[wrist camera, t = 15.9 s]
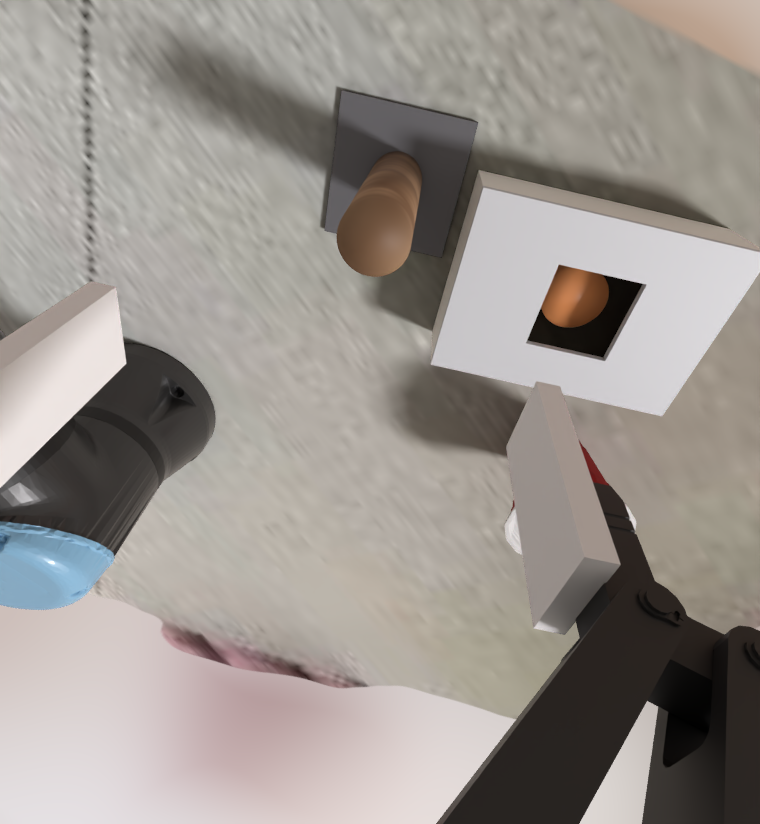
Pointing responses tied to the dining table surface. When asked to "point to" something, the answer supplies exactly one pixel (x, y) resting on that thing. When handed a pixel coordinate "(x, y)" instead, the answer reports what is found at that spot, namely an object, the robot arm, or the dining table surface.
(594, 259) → the box
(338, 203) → the pad
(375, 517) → the dining table surface
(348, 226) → the wooden rod
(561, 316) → the orange dome button
